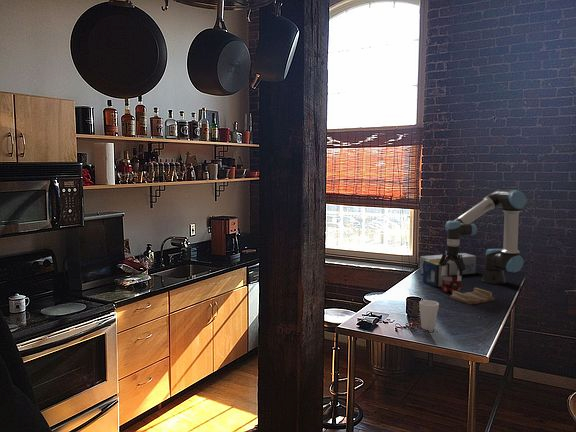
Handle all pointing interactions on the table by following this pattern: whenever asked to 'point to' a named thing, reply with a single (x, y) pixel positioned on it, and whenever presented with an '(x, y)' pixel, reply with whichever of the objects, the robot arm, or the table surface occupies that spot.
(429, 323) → the foam cup
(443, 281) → the toy fire truck
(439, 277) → the protein box
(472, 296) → the cradle
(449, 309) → the table surface
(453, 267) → the soda pack
